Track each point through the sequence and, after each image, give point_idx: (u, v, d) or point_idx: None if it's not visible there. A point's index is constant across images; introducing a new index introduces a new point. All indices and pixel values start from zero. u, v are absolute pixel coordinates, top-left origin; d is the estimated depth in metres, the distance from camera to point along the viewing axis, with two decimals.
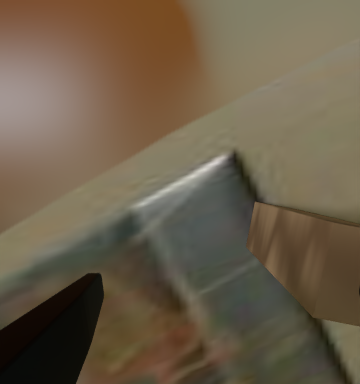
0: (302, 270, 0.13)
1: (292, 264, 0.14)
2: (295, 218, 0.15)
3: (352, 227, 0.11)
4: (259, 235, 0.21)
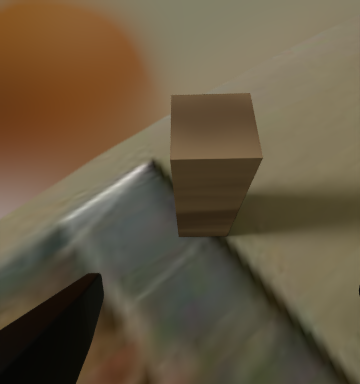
0: None
1: None
2: None
3: (186, 95, 0.14)
4: None
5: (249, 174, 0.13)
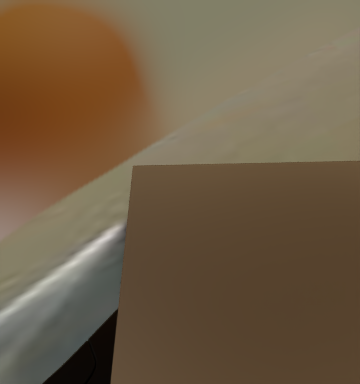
0: None
1: None
2: None
3: (190, 166, 0.04)
4: None
5: None
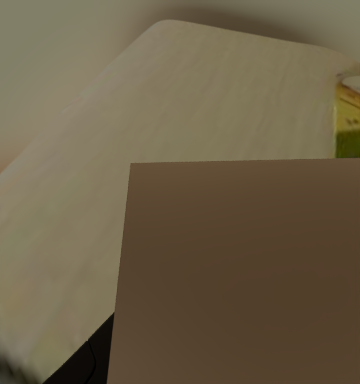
0: None
1: None
2: None
3: (187, 163, 0.04)
4: None
5: None
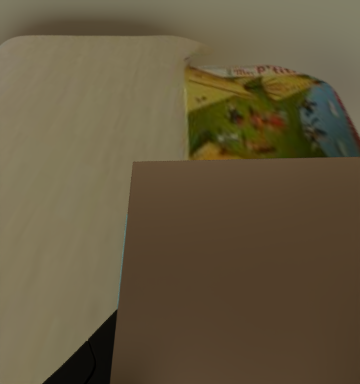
0: None
1: None
2: None
3: (190, 162, 0.04)
4: None
5: None
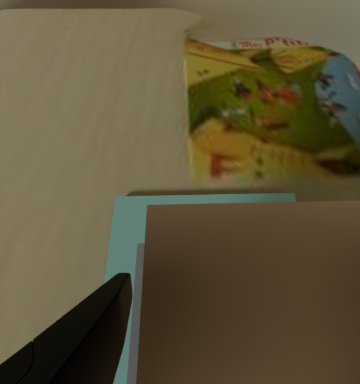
0: None
1: None
2: None
3: (189, 205, 0.05)
4: None
5: None
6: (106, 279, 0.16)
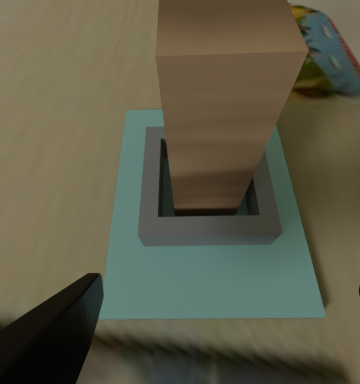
0: None
1: None
2: None
3: None
4: None
5: (280, 93, 0.08)
6: (121, 163, 0.21)
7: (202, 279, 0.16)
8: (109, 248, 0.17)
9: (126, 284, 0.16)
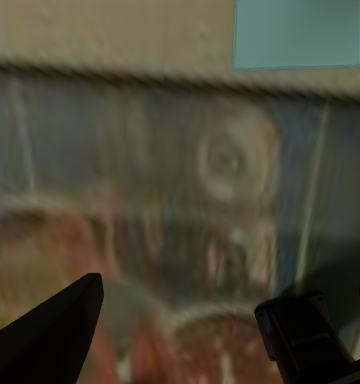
0: None
1: None
2: None
3: None
4: None
5: None
6: None
7: (339, 25, 0.16)
8: None
9: (260, 33, 0.16)
